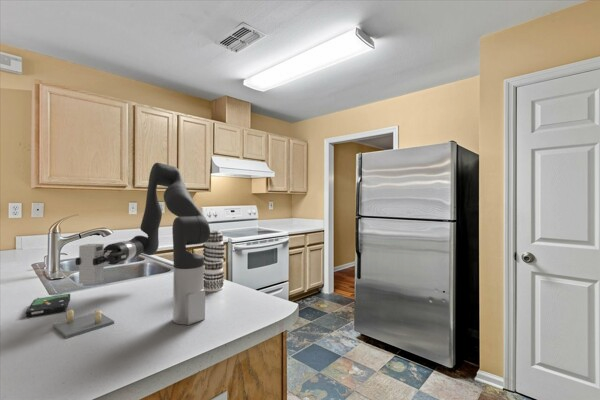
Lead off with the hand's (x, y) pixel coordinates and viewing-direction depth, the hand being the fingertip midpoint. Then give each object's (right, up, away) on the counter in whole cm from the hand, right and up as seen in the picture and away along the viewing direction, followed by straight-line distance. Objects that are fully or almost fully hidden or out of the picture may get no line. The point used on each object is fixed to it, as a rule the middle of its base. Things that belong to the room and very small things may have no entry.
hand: (85, 261), depth 92 cm
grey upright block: (0, -7, +3) cm, 7 cm away
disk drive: (-21, -19, +11) cm, 30 cm away
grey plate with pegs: (+2, -19, -3) cm, 19 cm away
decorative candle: (+30, -19, +35) cm, 50 cm away
